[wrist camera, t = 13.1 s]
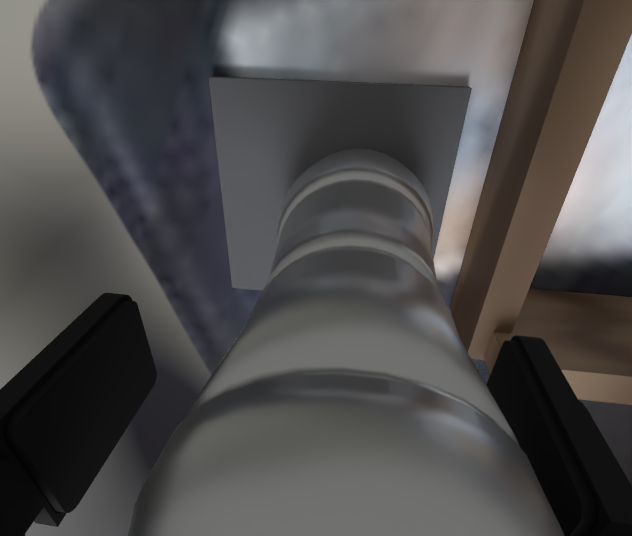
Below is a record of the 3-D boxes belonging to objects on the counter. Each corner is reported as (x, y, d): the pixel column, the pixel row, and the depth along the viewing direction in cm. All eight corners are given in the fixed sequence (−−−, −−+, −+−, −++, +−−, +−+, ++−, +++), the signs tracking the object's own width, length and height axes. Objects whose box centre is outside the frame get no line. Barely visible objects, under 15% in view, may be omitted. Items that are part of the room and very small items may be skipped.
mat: (468, 86, 16) (471, 88, 15) (421, 298, 21) (423, 304, 21) (213, 76, 16) (208, 77, 16) (235, 281, 22) (232, 287, 22)
